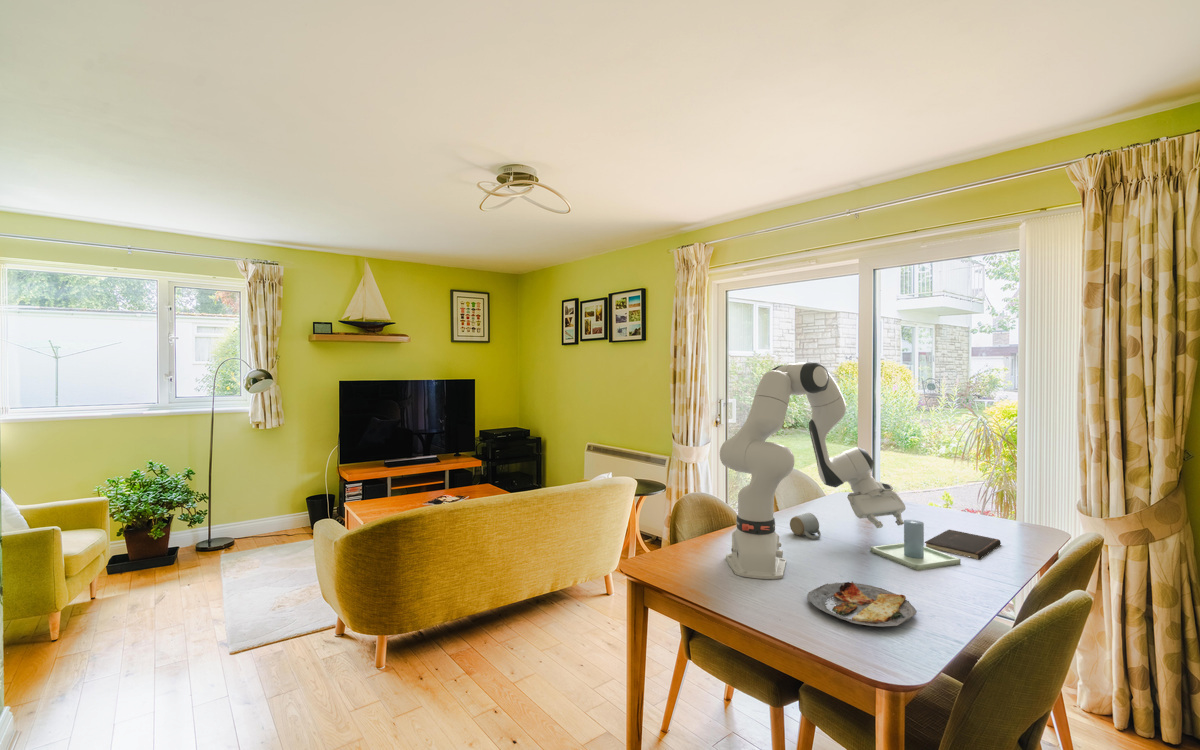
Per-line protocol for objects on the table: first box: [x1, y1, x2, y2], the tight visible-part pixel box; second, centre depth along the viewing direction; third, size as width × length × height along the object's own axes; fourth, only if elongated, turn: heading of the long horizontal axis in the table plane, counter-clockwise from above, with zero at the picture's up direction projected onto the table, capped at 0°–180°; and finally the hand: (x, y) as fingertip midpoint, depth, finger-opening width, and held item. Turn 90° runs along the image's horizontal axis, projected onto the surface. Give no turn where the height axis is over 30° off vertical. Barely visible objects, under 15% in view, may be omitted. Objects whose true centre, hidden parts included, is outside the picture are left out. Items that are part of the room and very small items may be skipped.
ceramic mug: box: [789, 512, 822, 540], centre depth 197 cm, size 11×8×8 cm
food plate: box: [806, 581, 918, 627], centre depth 136 cm, size 25×23×4 cm
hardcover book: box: [924, 529, 1002, 560], centre depth 185 cm, size 16×23×2 cm
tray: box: [869, 542, 962, 571], centre depth 173 cm, size 18×18×2 cm
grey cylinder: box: [903, 519, 925, 559], centre depth 173 cm, size 6×6×11 cm
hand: (890, 526), depth 181 cm, fingers open, 8 cm apart
